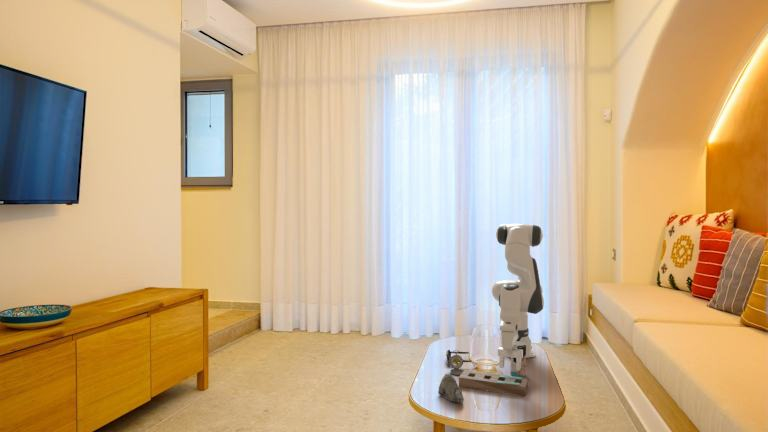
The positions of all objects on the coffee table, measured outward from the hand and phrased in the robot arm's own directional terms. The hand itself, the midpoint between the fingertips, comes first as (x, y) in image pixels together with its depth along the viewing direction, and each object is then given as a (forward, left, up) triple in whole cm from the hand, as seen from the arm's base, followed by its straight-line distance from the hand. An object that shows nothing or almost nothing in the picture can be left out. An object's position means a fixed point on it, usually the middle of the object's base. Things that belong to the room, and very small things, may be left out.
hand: (510, 354), depth 211 cm
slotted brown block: (0, -7, -15) cm, 17 cm away
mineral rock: (+20, -21, -15) cm, 33 cm away
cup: (-19, +1, -15) cm, 25 cm away
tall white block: (0, 0, -6) cm, 6 cm away
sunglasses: (-27, -28, -16) cm, 42 cm away
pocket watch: (-12, -26, -15) cm, 33 cm away
